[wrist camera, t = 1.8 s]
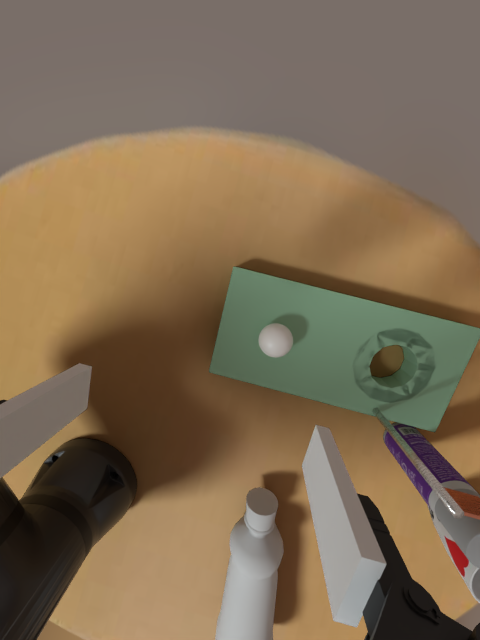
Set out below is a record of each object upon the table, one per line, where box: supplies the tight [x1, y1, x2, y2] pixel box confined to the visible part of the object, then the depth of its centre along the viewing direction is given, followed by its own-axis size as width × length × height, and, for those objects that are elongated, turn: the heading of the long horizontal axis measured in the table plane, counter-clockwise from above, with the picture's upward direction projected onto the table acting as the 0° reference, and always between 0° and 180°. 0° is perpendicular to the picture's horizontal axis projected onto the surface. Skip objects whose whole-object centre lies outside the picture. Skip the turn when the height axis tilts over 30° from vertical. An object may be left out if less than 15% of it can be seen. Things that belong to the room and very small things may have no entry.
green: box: [209, 266, 480, 432], centre depth 33 cm, size 30×14×3 cm, turn 76°
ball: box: [258, 323, 293, 358], centre depth 30 cm, size 4×4×4 cm
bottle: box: [215, 487, 284, 640], centre depth 39 cm, size 9×9×30 cm
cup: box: [427, 504, 480, 603], centre depth 33 cm, size 8×8×10 cm
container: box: [383, 422, 480, 569], centre depth 29 cm, size 5×5×15 cm
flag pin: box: [372, 408, 480, 520], centre depth 26 cm, size 4×1×14 cm, turn 76°
